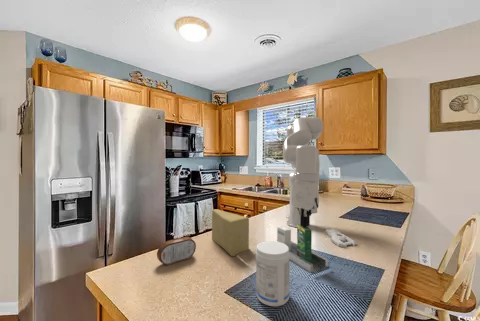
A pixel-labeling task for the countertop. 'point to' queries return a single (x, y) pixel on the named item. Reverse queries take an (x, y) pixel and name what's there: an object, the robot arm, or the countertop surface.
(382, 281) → the countertop surface
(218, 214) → the cheese
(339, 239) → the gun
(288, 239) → the small white carton
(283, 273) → the supplement tub
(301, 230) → the coffee box
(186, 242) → the tin
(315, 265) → the rail
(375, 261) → the countertop surface
